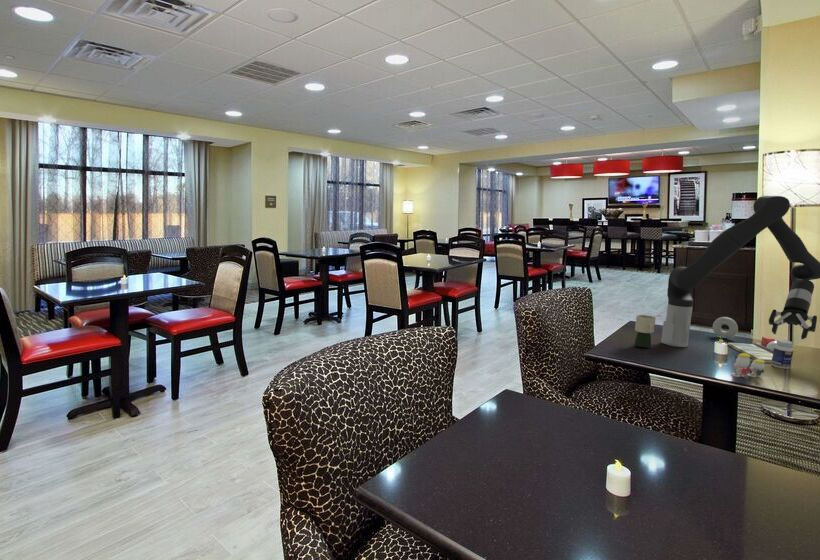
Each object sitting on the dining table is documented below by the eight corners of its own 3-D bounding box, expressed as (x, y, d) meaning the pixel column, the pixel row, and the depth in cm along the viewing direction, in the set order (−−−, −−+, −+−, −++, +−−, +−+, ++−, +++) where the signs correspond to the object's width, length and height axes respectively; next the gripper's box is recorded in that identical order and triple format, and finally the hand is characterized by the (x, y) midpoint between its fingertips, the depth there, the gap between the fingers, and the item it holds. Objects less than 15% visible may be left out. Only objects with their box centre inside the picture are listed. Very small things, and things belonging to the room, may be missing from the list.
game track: (787, 364, 184) (788, 360, 184) (759, 362, 185) (760, 359, 185) (752, 346, 207) (752, 344, 206) (727, 345, 208) (727, 342, 207)
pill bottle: (785, 370, 177) (789, 343, 175) (767, 365, 182) (772, 339, 180) (793, 368, 179) (797, 342, 178) (776, 363, 184) (780, 338, 183)
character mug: (657, 351, 194) (661, 320, 192) (640, 350, 194) (643, 319, 192) (644, 343, 205) (648, 313, 203) (627, 343, 205) (631, 313, 203)
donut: (737, 340, 216) (740, 319, 215) (734, 341, 214) (738, 319, 213) (712, 335, 224) (715, 314, 222) (709, 336, 222) (713, 315, 220)
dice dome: (789, 359, 196) (791, 344, 195) (770, 358, 196) (773, 343, 195) (770, 350, 207) (772, 336, 206) (753, 349, 208) (755, 335, 207)
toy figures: (756, 374, 171) (760, 351, 170) (766, 378, 167) (770, 355, 165) (725, 374, 169) (729, 351, 168) (735, 378, 165) (739, 355, 164)
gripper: (775, 294, 192) (765, 326, 186) (821, 300, 182) (812, 334, 176) (775, 305, 197) (765, 337, 190) (821, 311, 187) (812, 345, 180)
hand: (788, 335), depth 183 cm, fingers open, 8 cm apart
